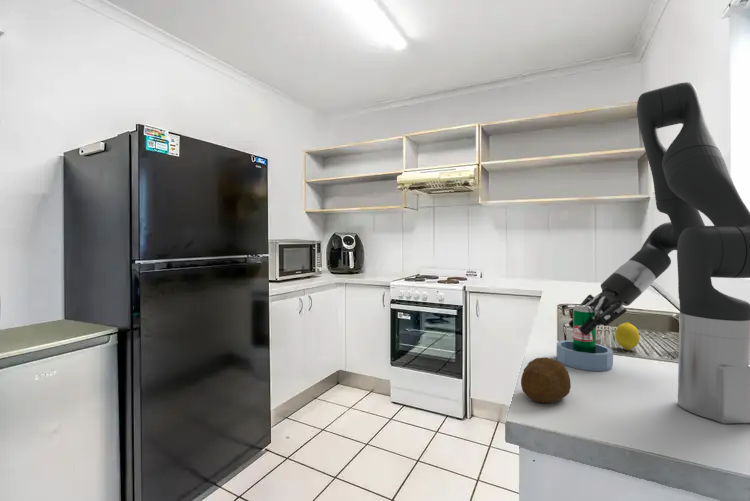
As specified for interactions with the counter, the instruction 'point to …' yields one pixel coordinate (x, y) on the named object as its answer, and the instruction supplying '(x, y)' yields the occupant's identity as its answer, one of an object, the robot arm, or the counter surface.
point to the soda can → (579, 339)
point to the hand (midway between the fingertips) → (576, 329)
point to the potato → (545, 380)
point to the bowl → (585, 357)
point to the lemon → (627, 335)
